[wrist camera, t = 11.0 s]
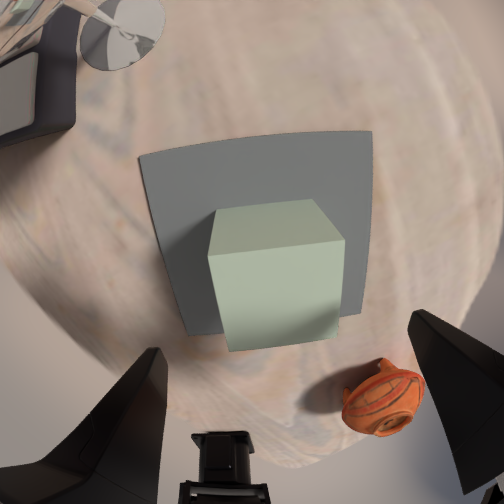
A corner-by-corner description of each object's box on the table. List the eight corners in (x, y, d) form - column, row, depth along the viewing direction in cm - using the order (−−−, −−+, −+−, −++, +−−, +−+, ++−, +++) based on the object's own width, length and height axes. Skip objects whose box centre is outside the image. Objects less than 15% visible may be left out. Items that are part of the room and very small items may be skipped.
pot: (347, 412, 25) (357, 461, 19) (324, 366, 23) (334, 421, 17) (415, 382, 23) (437, 426, 17) (404, 330, 22) (434, 376, 15)
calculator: (87, -94, 2) (31, 132, 8) (110, -66, 6) (78, 127, 12) (-35, -17, 1) (-66, 173, 7) (-4, -9, 5) (-27, 159, 11)
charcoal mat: (359, 311, 18) (360, 313, 18) (188, 334, 19) (188, 335, 18) (370, 131, 13) (372, 131, 13) (140, 155, 13) (139, 156, 13)
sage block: (313, 279, 17) (336, 337, 12) (230, 289, 17) (229, 351, 12) (312, 198, 14) (345, 239, 10) (216, 209, 14) (207, 255, 10)
